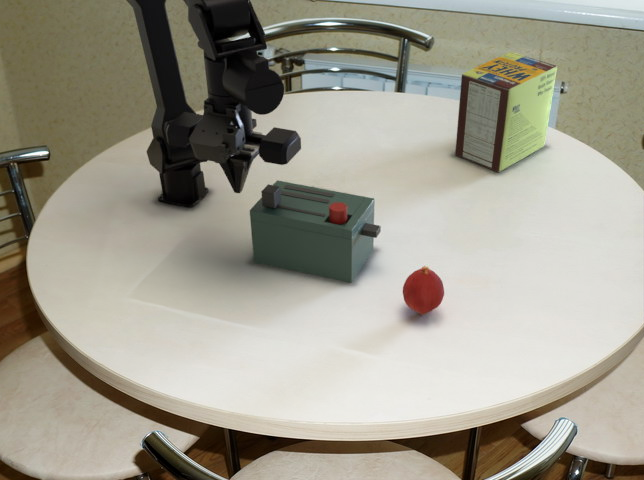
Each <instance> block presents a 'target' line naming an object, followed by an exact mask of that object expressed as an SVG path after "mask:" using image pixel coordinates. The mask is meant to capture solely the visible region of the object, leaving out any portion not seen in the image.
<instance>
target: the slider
mask: <svg viewBox="0 0 644 480" xmlns="http://www.w3.org/2000/svg"><path fill="white" fill-rule="evenodd" d="M260 194H261V197H262V206H264V207H270V208H276V206H277V205H278V204H279V203H280V202H281V189H280V186H274V185H273V184H269V183H267V185H266V186H265V187H264V188H263V189H262V190H261V193H260Z"/></svg>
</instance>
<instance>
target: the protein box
mask: <svg viewBox="0 0 644 480" xmlns="http://www.w3.org/2000/svg"><path fill="white" fill-rule="evenodd" d="M557 71H558V66H557V65H556V64H552V63H549V62H545V61H542V60H539V59H535V58H532V57H529V56H526V55H523V54H519V53H517V52H514V51H508V52H506V53H505V54H502V55H500V56H498V57H496V58H494V59H491V60H489V61H486V62H484V63H481V65H478V66H476V67H473V68H471V69H469V70H466V71H465V72H463V73H462V74H461V79H460V80H461V81H460V92H459V94H460V95H459V104H458V116H457V128H456V139H455V152H454V156H456V157H459V158H461V159H464V160H467V161H468V162H469V161H470V162H472V163H475V164H477V165H480V166H482V167H485V168H486V169H490V170H491V171H495V172H497V173H500V172H502V171H503V170H505V169H507V168H509V167H511V166H512V165H514V164H516V163H518V162H520V161H522V160H523V159H524V158H526V157H528V156H530V155H532V154H533V153H534V152H536V151H539V150H540V149H542V148H543V147H545V145H546V140H547V139H546V138H547V132H548V125H549V119H550V114H551V107H552V101H553V95H554V88H555V82H556V75H557Z"/></svg>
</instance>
